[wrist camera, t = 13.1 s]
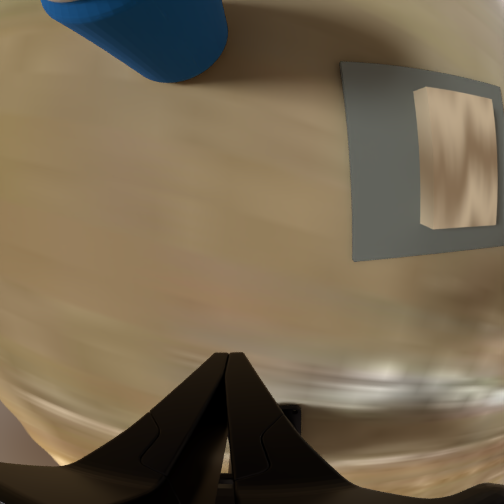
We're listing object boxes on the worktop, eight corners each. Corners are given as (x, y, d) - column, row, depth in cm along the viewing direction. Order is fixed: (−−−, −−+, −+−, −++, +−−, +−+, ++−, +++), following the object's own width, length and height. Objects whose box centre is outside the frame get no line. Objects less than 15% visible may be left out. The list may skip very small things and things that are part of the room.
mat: (500, 244, 20) (503, 245, 19) (352, 259, 20) (354, 261, 20) (497, 87, 16) (499, 87, 16) (339, 63, 17) (340, 61, 16)
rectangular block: (420, 223, 19) (481, 219, 19) (433, 229, 17) (495, 225, 17) (413, 91, 16) (477, 101, 16) (425, 86, 15) (491, 99, 14)
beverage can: (228, -3, 15) (203, -128, 4) (229, 80, 17) (194, -22, 6) (135, 11, 15) (46, -79, 4) (131, 92, 17) (7, 39, 6)
